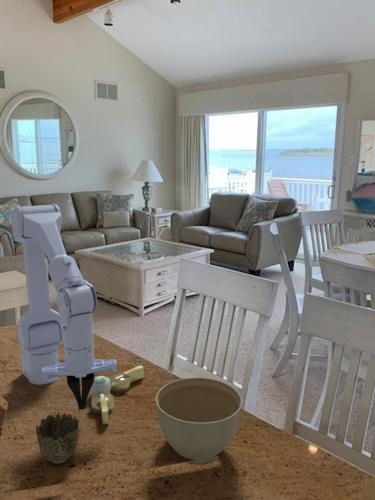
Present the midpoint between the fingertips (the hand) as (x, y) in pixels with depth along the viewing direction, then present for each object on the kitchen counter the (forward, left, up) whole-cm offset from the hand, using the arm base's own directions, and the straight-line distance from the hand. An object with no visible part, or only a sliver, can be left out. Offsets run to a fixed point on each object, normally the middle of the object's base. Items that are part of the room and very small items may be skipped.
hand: (81, 406), depth 94 cm
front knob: (0, +5, -3) cm, 6 cm away
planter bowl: (+22, +12, -5) cm, 25 cm away
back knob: (-6, +16, -3) cm, 18 cm away
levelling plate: (-6, +9, -5) cm, 12 cm away
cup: (+7, -9, -5) cm, 12 cm away
